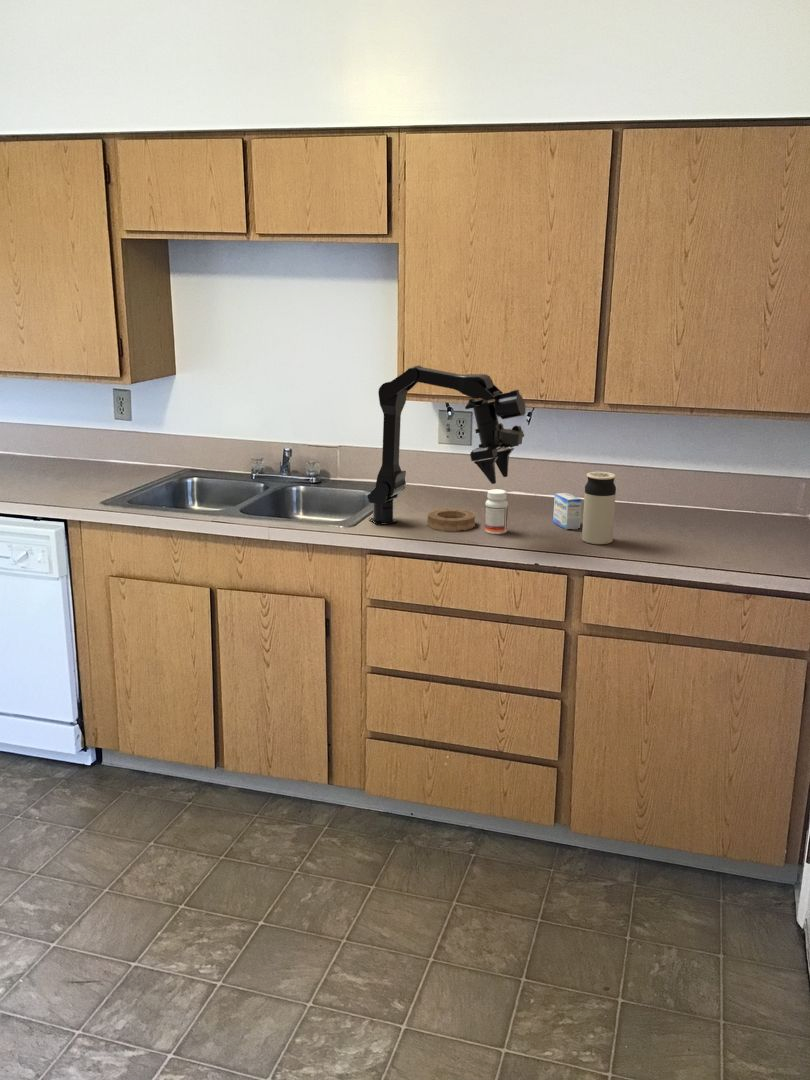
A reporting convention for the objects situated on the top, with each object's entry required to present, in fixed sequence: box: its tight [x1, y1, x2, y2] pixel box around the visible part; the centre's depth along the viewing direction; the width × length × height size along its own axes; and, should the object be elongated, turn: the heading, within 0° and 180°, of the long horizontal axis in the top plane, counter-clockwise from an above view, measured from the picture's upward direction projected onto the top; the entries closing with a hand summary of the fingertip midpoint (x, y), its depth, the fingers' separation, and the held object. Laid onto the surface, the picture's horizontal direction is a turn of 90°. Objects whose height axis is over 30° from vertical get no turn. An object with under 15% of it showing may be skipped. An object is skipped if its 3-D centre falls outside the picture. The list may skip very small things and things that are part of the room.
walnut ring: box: [427, 508, 476, 532], centre depth 281 cm, size 13×13×3 cm
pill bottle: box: [484, 489, 509, 535], centre depth 273 cm, size 6×6×11 cm
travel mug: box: [581, 471, 617, 545], centre depth 264 cm, size 8×8×18 cm
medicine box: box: [552, 492, 583, 530], centre depth 279 cm, size 8×4×9 cm, turn 21°
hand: (499, 480), depth 266 cm, fingers open, 9 cm apart
